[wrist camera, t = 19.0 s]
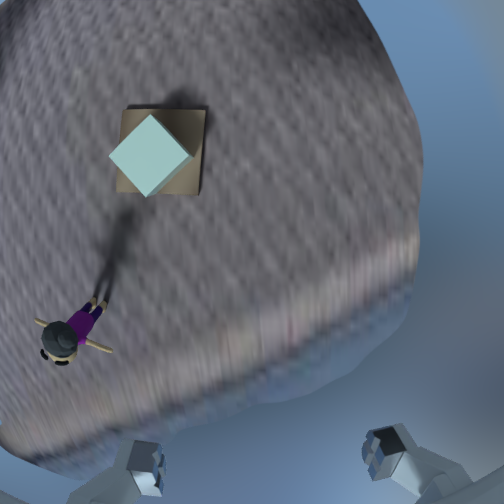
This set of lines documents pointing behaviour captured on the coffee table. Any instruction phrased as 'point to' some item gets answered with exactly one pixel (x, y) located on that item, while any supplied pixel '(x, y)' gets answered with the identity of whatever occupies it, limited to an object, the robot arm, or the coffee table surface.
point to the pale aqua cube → (150, 156)
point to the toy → (71, 334)
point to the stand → (185, 131)
